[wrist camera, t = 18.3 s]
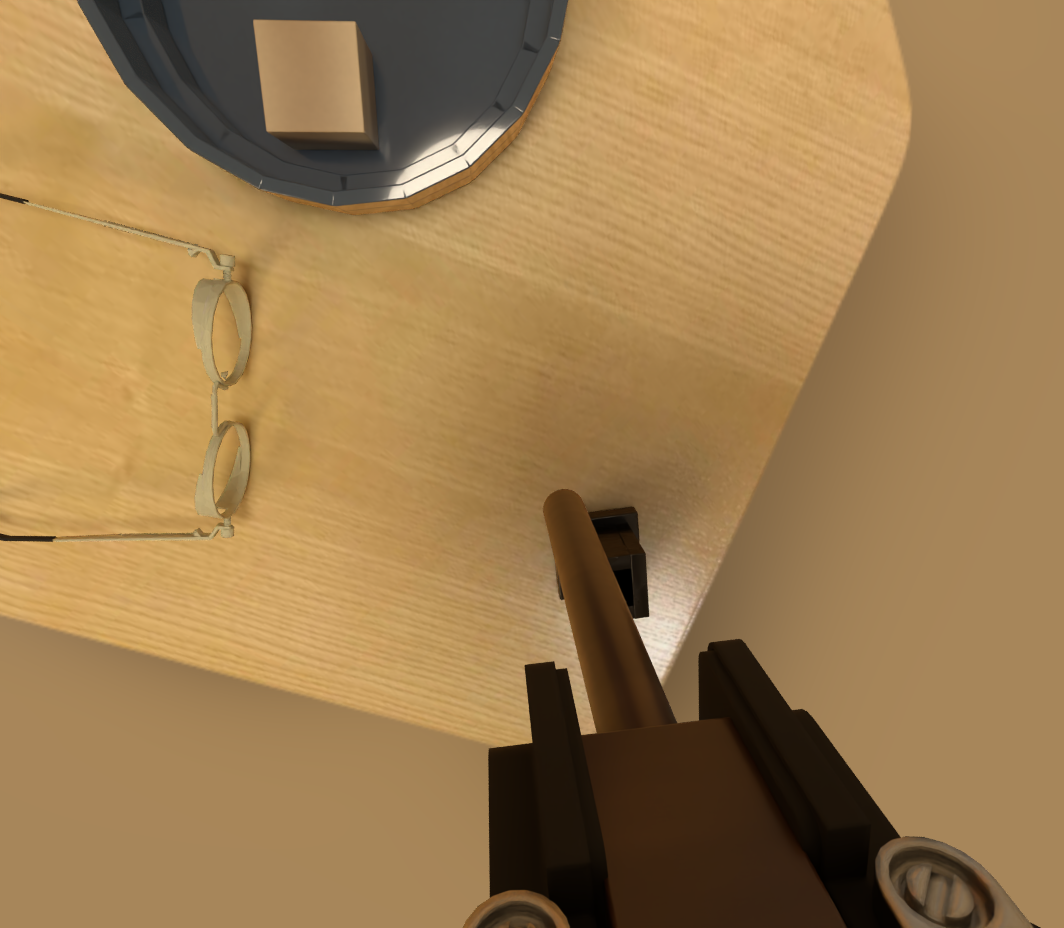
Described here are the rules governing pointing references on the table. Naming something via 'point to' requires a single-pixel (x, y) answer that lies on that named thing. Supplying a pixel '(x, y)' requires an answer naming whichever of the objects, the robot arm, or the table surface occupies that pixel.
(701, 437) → the table surface
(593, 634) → the stick
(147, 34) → the bowl
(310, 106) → the cube
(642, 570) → the holder
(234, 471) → the eyeglasses
